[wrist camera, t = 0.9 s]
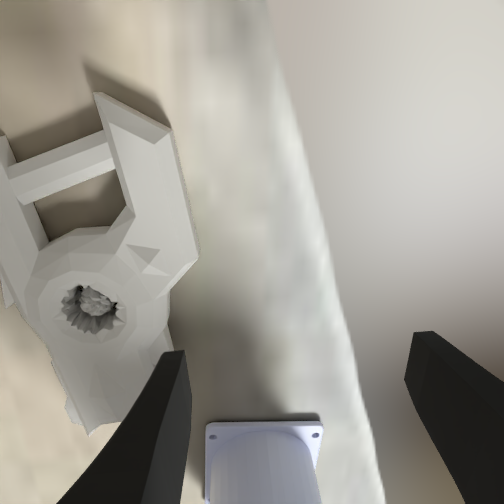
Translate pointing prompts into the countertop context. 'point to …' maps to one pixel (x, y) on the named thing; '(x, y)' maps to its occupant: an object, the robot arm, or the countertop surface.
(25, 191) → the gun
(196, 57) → the countertop surface
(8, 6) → the countertop surface
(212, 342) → the countertop surface
